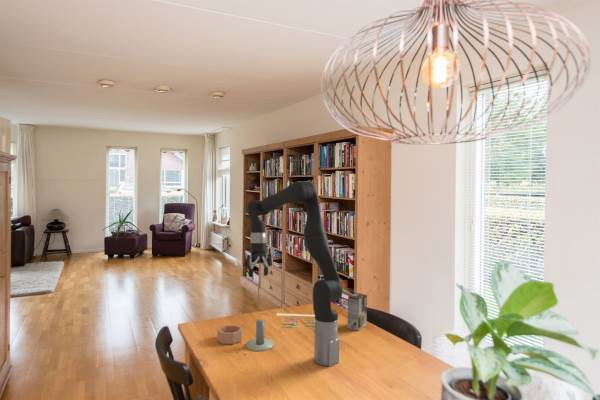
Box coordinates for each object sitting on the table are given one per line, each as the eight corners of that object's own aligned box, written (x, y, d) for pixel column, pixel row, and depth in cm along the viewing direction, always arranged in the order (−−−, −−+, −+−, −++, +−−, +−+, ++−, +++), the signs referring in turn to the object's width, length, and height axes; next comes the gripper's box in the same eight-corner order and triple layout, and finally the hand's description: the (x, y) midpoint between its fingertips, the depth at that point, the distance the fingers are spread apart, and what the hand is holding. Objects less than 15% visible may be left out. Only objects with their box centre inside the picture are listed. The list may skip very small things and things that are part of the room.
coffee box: (355, 323, 205) (356, 292, 205) (366, 326, 202) (367, 294, 201) (346, 328, 198) (347, 296, 197) (358, 331, 194) (359, 298, 194)
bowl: (246, 340, 180) (246, 329, 180) (227, 346, 173) (227, 335, 173) (232, 333, 188) (232, 323, 187) (213, 339, 180) (213, 328, 180)
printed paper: (331, 316, 216) (331, 313, 216) (330, 338, 186) (330, 335, 186) (277, 313, 219) (277, 311, 219) (267, 335, 189) (267, 332, 189)
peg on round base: (279, 345, 175) (279, 321, 175) (258, 353, 166) (258, 327, 166) (261, 338, 183) (261, 314, 183) (240, 345, 175) (241, 320, 174)
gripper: (250, 242, 183) (250, 278, 182) (274, 241, 192) (275, 275, 191) (241, 242, 189) (241, 277, 187) (265, 241, 198) (265, 274, 197)
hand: (258, 276), depth 189 cm, fingers open, 8 cm apart
